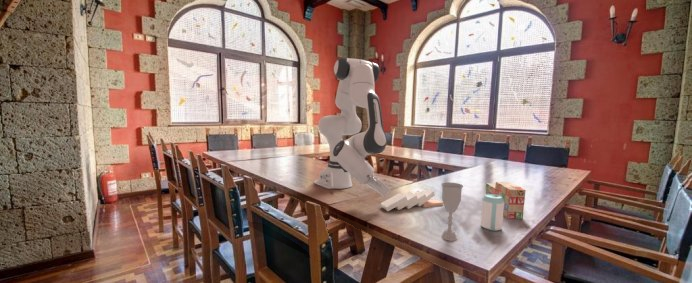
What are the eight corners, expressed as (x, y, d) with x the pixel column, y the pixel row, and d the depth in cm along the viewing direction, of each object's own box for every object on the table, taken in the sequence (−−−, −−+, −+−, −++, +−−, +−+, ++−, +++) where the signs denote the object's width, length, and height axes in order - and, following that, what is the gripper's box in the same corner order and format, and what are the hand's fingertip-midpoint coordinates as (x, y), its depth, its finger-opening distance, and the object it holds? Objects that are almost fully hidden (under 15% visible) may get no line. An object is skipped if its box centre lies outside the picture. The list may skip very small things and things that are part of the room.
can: (480, 222, 113) (482, 192, 112) (500, 225, 110) (503, 194, 109) (481, 229, 106) (483, 197, 105) (503, 232, 104) (505, 199, 103)
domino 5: (424, 204, 130) (443, 202, 133) (417, 200, 135) (435, 198, 138) (424, 208, 130) (443, 206, 133) (417, 205, 135) (435, 202, 139)
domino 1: (386, 207, 123) (406, 196, 126) (380, 203, 128) (399, 192, 131) (387, 211, 124) (407, 200, 126) (382, 207, 129) (401, 196, 131)
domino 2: (397, 206, 125) (416, 195, 127) (391, 202, 130) (409, 191, 133) (398, 210, 125) (417, 199, 128) (392, 206, 131) (411, 195, 133)
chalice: (456, 244, 94) (459, 189, 92) (435, 238, 98) (438, 185, 97) (462, 236, 100) (466, 184, 98) (442, 231, 104) (445, 181, 102)
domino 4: (418, 202, 129) (433, 191, 133) (409, 200, 134) (425, 189, 138) (419, 206, 130) (434, 195, 134) (411, 203, 134) (426, 192, 139)
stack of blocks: (484, 202, 139) (486, 176, 138) (498, 202, 139) (500, 177, 138) (507, 219, 118) (509, 188, 117) (523, 219, 118) (525, 189, 116)
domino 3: (406, 205, 127) (425, 194, 130) (400, 201, 132) (418, 190, 135) (408, 209, 127) (426, 198, 130) (401, 205, 132) (419, 194, 135)
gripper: (379, 172, 112) (401, 196, 117) (359, 163, 132) (379, 183, 136) (368, 185, 111) (390, 208, 116) (350, 173, 131) (369, 193, 135)
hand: (384, 194), depth 126 cm, fingers closed
